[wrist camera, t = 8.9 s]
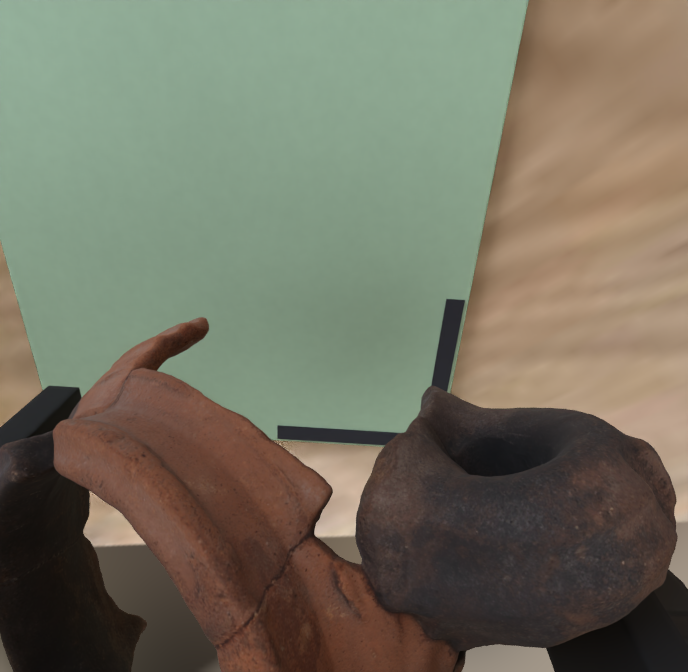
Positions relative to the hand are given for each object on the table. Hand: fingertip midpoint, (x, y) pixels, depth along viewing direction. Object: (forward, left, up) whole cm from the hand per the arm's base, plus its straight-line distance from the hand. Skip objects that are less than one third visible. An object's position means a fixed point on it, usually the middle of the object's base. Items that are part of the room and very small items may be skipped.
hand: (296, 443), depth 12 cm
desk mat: (-4, +4, -10) cm, 11 cm away
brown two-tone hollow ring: (+1, 0, 0) cm, 1 cm away
